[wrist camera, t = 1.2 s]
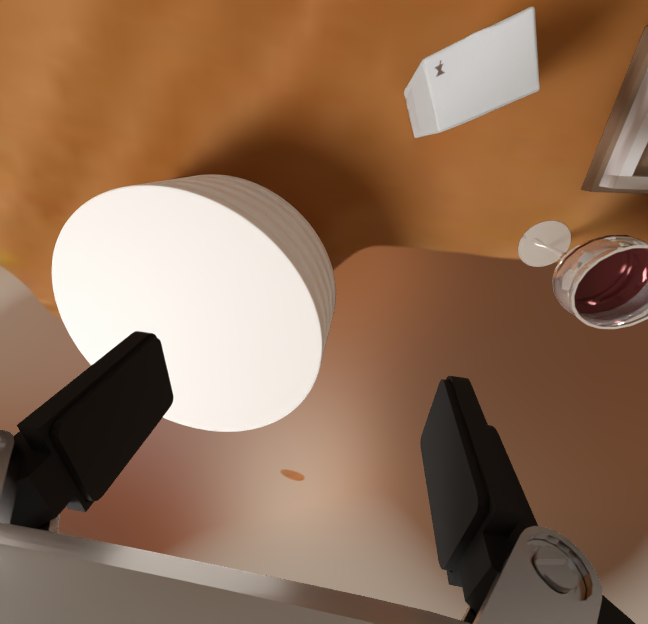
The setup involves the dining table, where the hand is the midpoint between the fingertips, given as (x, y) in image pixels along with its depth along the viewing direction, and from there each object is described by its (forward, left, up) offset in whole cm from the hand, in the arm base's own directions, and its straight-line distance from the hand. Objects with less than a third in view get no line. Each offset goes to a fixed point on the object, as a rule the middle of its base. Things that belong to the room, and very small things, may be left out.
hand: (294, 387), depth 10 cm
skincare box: (-11, +8, -28) cm, 31 cm away
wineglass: (+1, +21, -28) cm, 35 cm away
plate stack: (+10, -15, -28) cm, 33 cm away
